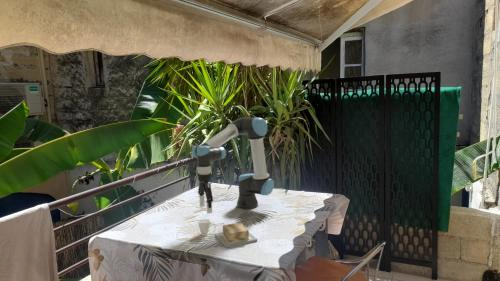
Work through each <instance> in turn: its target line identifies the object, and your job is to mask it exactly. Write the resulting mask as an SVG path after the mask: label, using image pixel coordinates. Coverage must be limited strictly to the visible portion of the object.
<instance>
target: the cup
mask: <svg viewBox="0 0 500 281" xmlns="http://www.w3.org/2000/svg"><path fill="white" fill-rule="evenodd" d="M197 223H198V228H199V232H200V235H201V236H208V235H211V234H212V233H214V232H215V230H216V228H217V226H216V224H215V222H214V221H211V220H210V219H209V218H202V219H199V220H198V221H197ZM211 224H213V226H214V229H213V230H212V231H211V232H210V228H211V227H210V226H211Z"/></svg>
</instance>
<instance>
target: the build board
mask: <svg viewBox="0 0 500 281" xmlns="http://www.w3.org/2000/svg"><path fill="white" fill-rule="evenodd" d="M214 237H215V238H216V239H217V240H218V241H219V242H220V243H221V244H222V245H223V246H224V247H225V248H226V249H229V248H233V247H234V248H235V247H237V246H242V245H247V244H252V243H256V242H258V238H257V237H255V236H254V235H253V234H252V233H250V232H249V239H247V240H241V241H235V242H229V241H228V240H227V239H226V237H225V236H224V234H223V232H219V233H214Z"/></svg>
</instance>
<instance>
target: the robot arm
mask: <svg viewBox="0 0 500 281" xmlns="http://www.w3.org/2000/svg"><path fill="white" fill-rule="evenodd" d="M267 133H268V124H267V122H266V120H265V119H264V118H263V117H262V118H261V117H257V116H256V117H255V116H254V117H246V116H245V117H239V118H237V119H235V120H234V121H232V122H231V123H229V124H228V125H226V128H224V129H222V130H221V131H220V132H218V133H217V134H215V135H214V136H212V137H211V138H209V139H208V140H206V141H205V142H203V143H201V144H200V145H194V146H193V147H192V148H191V151H190V153H191V156H192V157H193V158H196V163H197V164H196V165H197V166H196V167H197V168H196V170H197V180H198V189H197V194H198V196H199V207H200V208H202V207H205V199H206V213H207V214H213V204H212V203H213V202H214V197H213V193H212V185H211V183H209V181H211V180H212V162H215V161H221V160H223V159H225V158H226V156H227V150H226V148H224V147H223V145H224V144H226V143H227V142H228V141H230V140H231V139H233V138H236V137H238V136H241V135H243V136H244V135H245V136H246V138H247V140H248V141H249V142H250V143H249V144H250V151H251V159H252V165H253V171H254V172H253V173H252V172H251V173H249V172H248V173H243V174H240V175H239V176H238V182H237V184H238V198H237V202H236V207H237V208H239V209H242V210H243V209H244V210H249V209H250V210H252V209H256V208H257V207H258V206H259V203H258V202H259V201H258V198H257V196H256V194H257V195H261V196H269V195H270V194H272V192H273V190H274V187H275V181H274V179H272V178H270V177H271V176H270V174H269V173H268V169H267V163H266V154H265V146H264V139H265V136H266V135H267ZM205 197H206V198H205Z"/></svg>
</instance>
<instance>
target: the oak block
mask: <svg viewBox="0 0 500 281" xmlns="http://www.w3.org/2000/svg"><path fill="white" fill-rule="evenodd" d="M222 233H223V234H224V236H225V237H226V239H227V240H228V241H229V242H235V241H241V240H247V239H249V233H250V232H249V229H248V228H247V227H246V226H245V225H244V224H243V223H242V222H235V223H229V224H222Z"/></svg>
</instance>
